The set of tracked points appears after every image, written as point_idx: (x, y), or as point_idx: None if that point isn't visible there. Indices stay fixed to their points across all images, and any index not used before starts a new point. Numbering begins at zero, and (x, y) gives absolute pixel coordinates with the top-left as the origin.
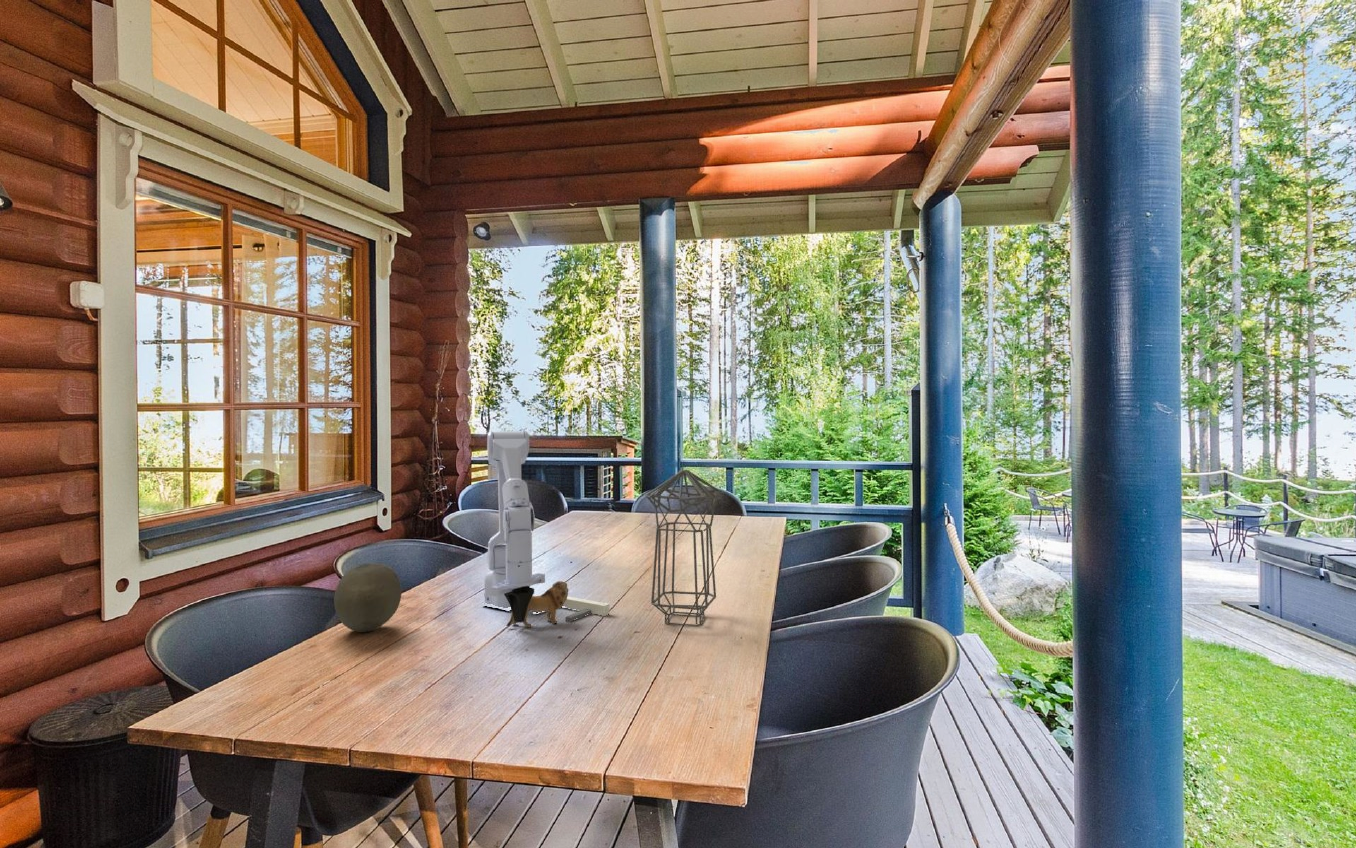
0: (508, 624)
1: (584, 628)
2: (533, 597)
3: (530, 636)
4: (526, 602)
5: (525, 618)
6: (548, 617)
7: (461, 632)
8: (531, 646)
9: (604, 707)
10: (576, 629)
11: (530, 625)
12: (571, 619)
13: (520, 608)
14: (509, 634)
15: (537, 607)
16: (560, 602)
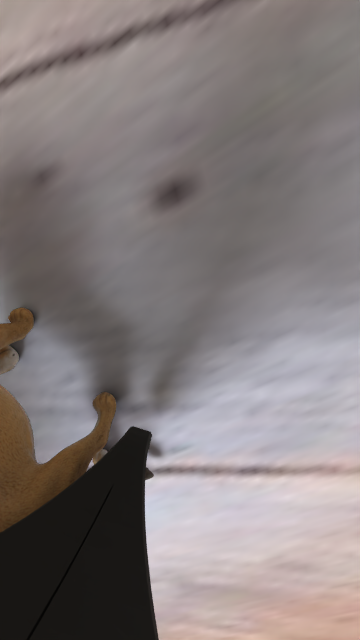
0: (145, 474)
1: (14, 137)
2: None
3: (207, 341)
4: (78, 518)
5: (94, 435)
6: (4, 361)
7: (233, 577)
8: (351, 265)
9: None
10: (43, 173)
11: (104, 395)
12: None
13: (143, 507)
14: (207, 432)
15: (13, 427)
16: None
